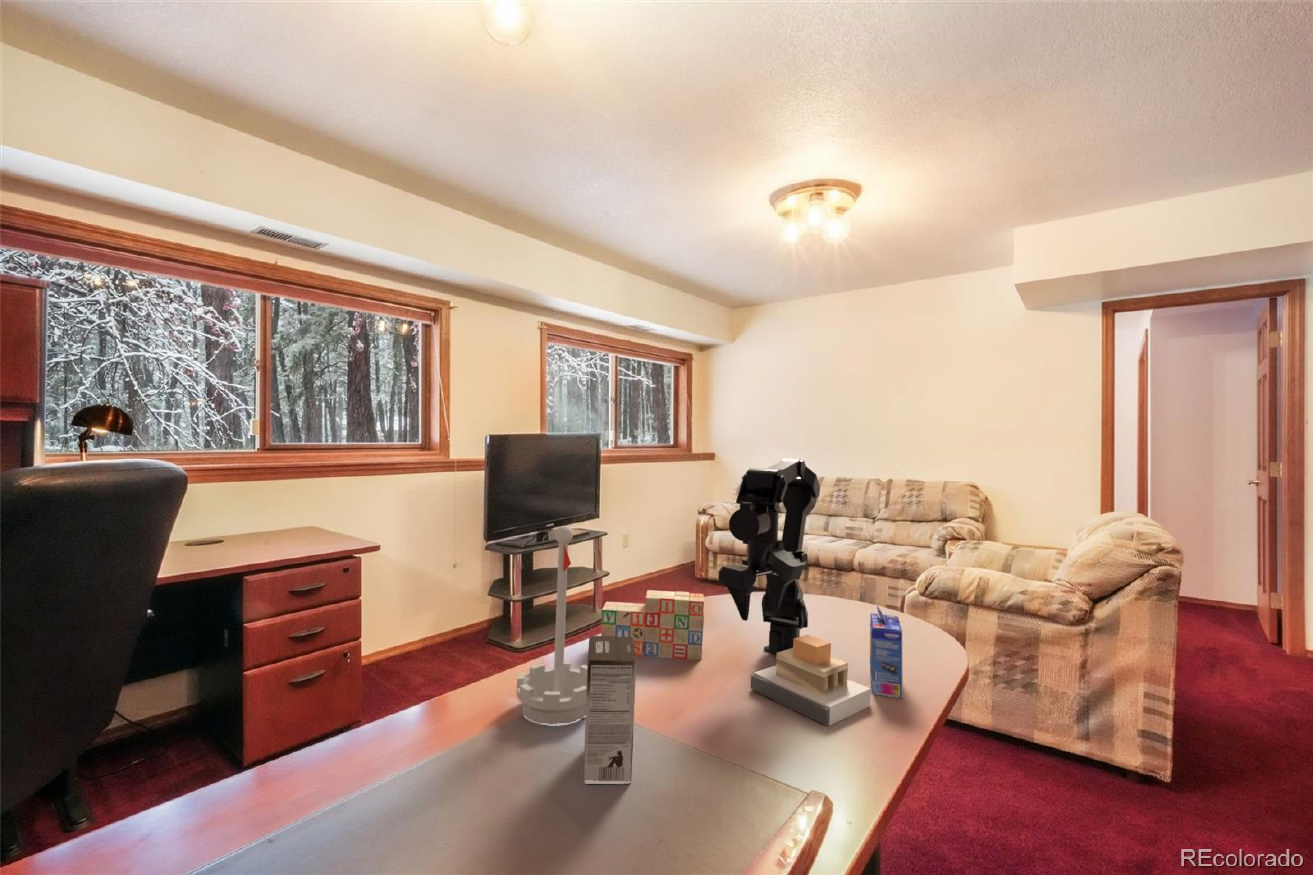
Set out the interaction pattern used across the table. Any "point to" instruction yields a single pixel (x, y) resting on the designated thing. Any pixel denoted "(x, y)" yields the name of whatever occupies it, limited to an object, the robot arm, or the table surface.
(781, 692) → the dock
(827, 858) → the table surface
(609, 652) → the coffee box
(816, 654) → the tan cardboard cube
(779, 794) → the table surface
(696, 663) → the table surface
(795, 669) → the pallet
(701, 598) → the stack of blocks
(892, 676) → the ink cartridge box
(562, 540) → the flag stand
